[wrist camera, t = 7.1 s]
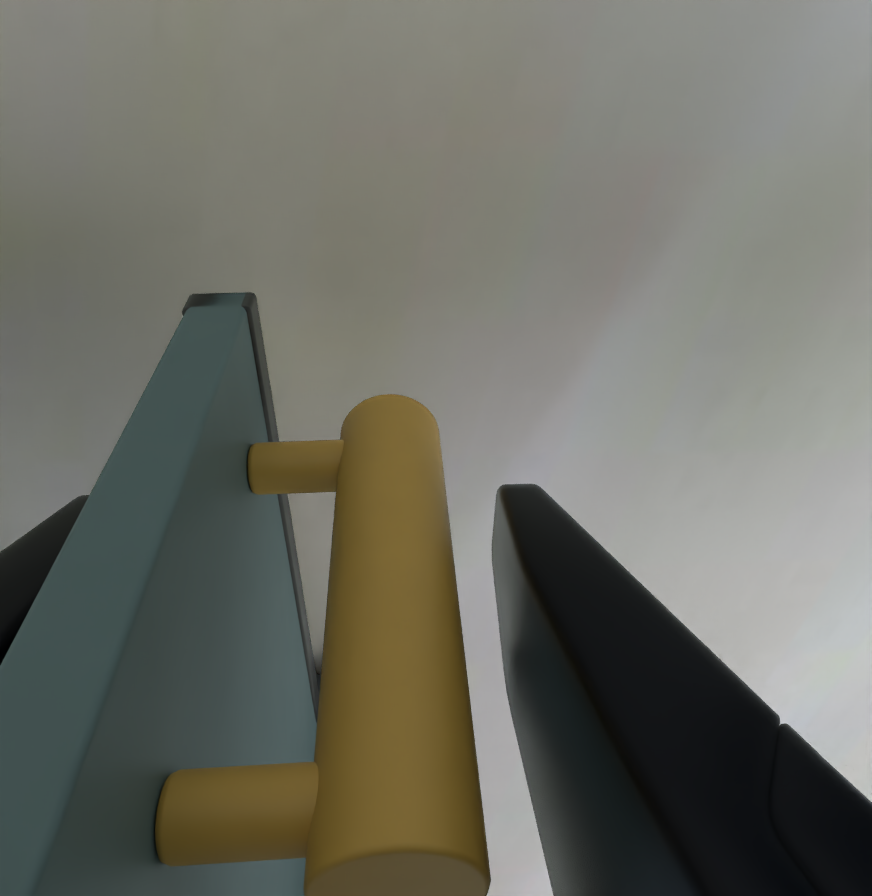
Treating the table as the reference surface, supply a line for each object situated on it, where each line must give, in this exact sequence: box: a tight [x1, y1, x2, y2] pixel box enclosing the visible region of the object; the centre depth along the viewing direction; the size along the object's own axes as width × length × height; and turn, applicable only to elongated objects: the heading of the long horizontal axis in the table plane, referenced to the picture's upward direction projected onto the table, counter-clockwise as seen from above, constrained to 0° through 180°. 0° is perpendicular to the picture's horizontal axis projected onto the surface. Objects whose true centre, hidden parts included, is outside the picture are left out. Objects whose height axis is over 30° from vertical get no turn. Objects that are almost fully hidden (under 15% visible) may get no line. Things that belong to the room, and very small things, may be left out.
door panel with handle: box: [0, 292, 491, 896], centre depth 9 cm, size 9×3×7 cm, turn 0°
